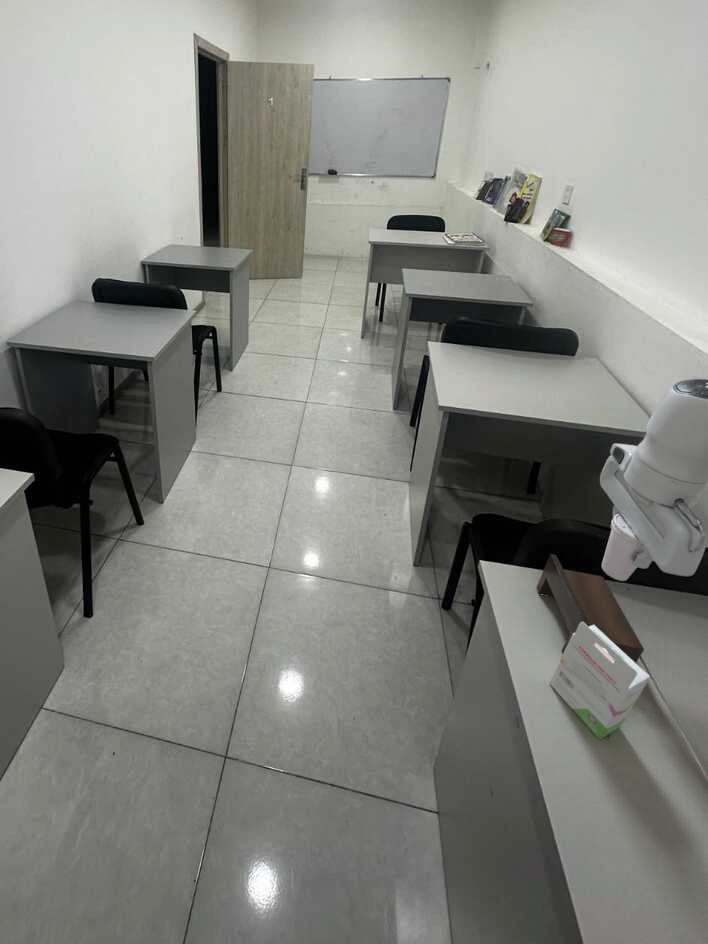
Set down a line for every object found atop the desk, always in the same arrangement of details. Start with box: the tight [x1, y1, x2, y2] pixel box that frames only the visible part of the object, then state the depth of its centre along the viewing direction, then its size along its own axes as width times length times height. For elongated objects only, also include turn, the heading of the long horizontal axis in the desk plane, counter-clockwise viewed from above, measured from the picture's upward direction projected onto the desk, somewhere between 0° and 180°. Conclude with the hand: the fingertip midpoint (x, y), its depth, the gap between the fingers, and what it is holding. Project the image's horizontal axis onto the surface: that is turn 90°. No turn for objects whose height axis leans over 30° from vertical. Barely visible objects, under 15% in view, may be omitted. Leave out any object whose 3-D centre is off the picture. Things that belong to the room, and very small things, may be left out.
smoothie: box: [601, 513, 644, 582], centre depth 77 cm, size 6×6×14 cm
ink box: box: [549, 622, 651, 741], centre depth 70 cm, size 9×5×15 cm, turn 22°
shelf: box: [535, 553, 645, 664], centre depth 83 cm, size 10×14×9 cm
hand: (627, 547), depth 77 cm, fingers closed on smoothie, 5 cm apart
